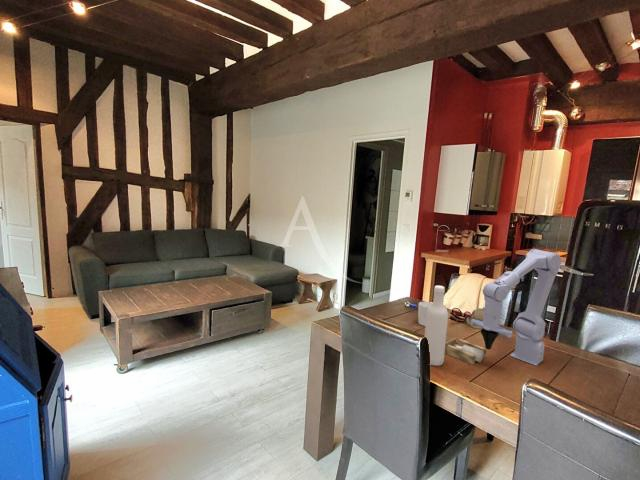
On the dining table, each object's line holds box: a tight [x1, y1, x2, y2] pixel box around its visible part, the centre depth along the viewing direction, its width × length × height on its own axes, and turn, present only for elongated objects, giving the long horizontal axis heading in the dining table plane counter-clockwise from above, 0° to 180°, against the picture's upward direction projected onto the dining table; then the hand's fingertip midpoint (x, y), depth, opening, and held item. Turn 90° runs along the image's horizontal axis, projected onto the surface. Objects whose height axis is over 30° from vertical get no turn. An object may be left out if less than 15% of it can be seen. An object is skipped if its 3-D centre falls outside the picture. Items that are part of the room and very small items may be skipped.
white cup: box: [417, 301, 433, 327], centre depth 165 cm, size 8×8×10 cm
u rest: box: [445, 337, 487, 366], centre depth 135 cm, size 14×11×4 cm
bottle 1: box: [424, 284, 449, 367], centre depth 127 cm, size 8×8×30 cm
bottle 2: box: [454, 343, 484, 363], centre depth 132 cm, size 5×5×10 cm
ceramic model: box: [466, 306, 485, 330], centre depth 163 cm, size 14×11×10 cm
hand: (488, 348), depth 127 cm, fingers closed
